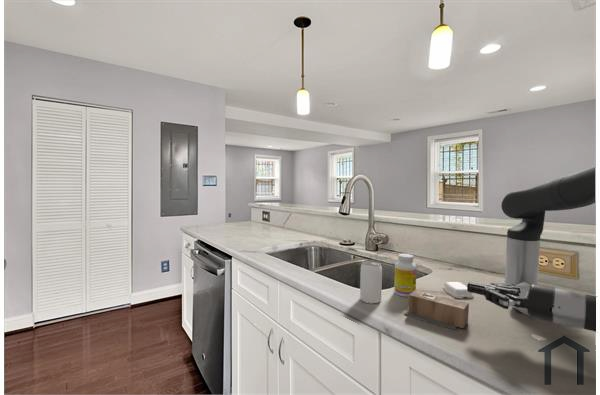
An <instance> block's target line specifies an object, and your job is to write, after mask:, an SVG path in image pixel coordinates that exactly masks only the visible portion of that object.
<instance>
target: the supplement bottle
mask: <svg viewBox="0 0 600 395" xmlns="http://www.w3.org/2000/svg"><path fill="white" fill-rule="evenodd" d="M397 258H398V261H397V262H395V264H394V286H393V287H394V289H393V290H394V293H395V294H396V295H397V296H400V297H405V298H409V294H411V293H412V292H413V291H415V290H417V265H416V264H415V263H414V255H412V254H411V253H398V257H397Z"/></svg>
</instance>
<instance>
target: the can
mask: <svg viewBox="0 0 600 395" xmlns="http://www.w3.org/2000/svg"><path fill="white" fill-rule="evenodd" d="M359 279H360V280H359V281H360V284H359V292H360V293H359V298H360V300H361V301H362V302H363V301H364V302H363V303H365V302H368V303H367V304H369V303H377V304H379V303H380V302H381V301H382V290H383V289H382V288H383V286H382V282H383V267H382V265H381V262H380V261H379V260H376V259H375V260H374V259H364V260H362V261H361V265H360V276H359ZM378 302H379V303H378Z"/></svg>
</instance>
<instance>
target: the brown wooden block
mask: <svg viewBox="0 0 600 395" xmlns="http://www.w3.org/2000/svg"><path fill="white" fill-rule="evenodd" d="M469 305H470V303H469V302H467V301H463V300H459V299H454V298H452V297H451V298H450V297H446V296H443V295H439V294H435V293H429V292H426V291H422V290H418V289H416V290H415V291H413V292H412V293H411V294H409V297H408V309H407V311H408V312H410V313H413V314H417V315H420V316H424V317H427V318H430V319H434V320H437V321H440V322H444V323H447V324H451V325H454V326H457V328H461V329H464V328H465V327H466V325H467V324H468V323H469V312H470V311H469V309H470V306H469Z"/></svg>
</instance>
